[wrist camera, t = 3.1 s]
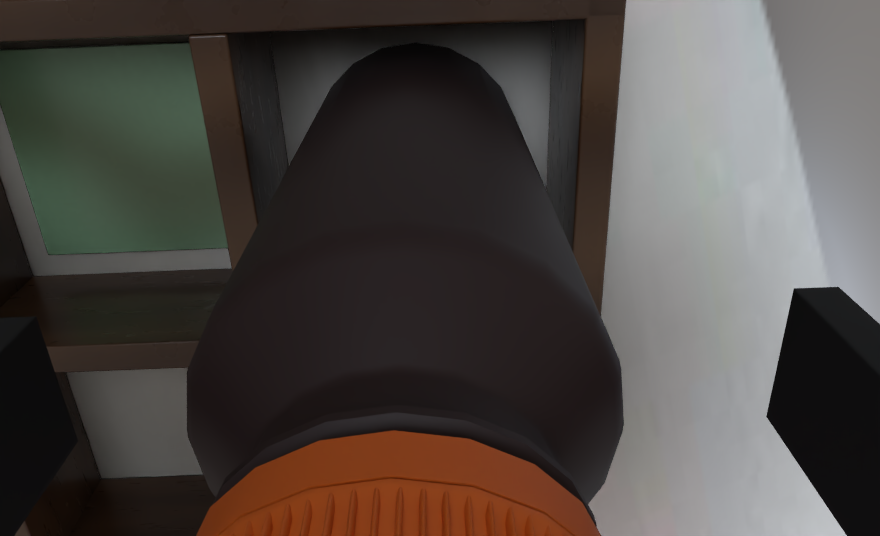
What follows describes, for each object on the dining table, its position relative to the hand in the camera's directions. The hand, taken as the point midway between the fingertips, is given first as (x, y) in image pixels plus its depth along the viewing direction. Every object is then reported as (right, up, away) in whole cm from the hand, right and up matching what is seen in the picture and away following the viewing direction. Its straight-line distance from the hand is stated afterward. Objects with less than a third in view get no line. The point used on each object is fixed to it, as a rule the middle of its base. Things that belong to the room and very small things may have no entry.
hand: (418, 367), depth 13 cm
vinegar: (0, +6, +12) cm, 13 cm away
